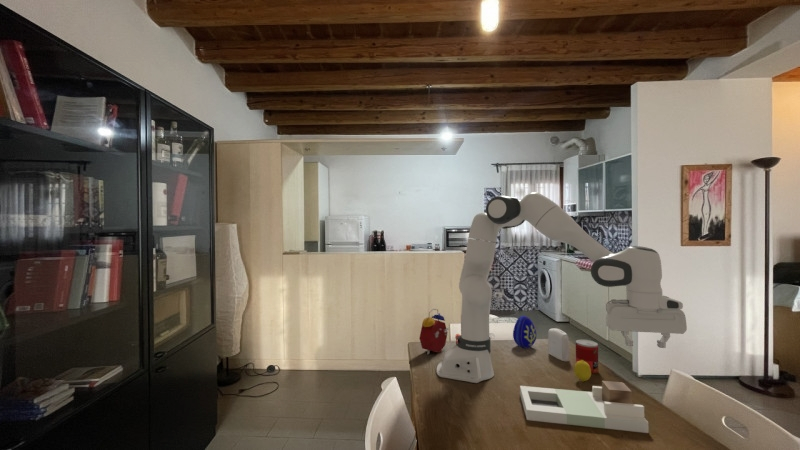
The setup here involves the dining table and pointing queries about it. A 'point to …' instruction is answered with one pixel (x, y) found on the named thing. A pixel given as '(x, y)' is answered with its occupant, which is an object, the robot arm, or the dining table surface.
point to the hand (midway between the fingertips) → (645, 346)
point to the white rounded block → (558, 344)
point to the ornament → (524, 332)
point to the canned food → (587, 353)
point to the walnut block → (616, 392)
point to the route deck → (581, 409)
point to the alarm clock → (433, 333)
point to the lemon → (582, 370)
